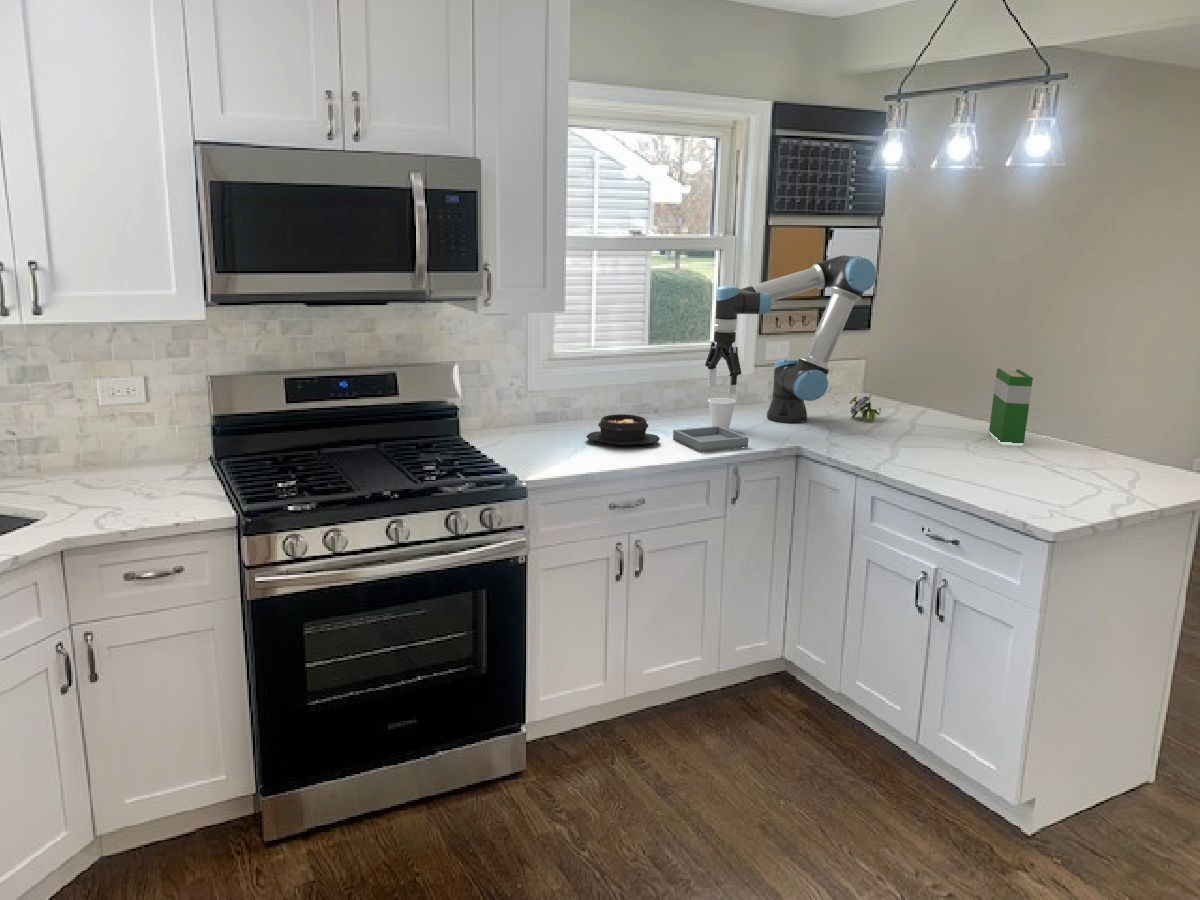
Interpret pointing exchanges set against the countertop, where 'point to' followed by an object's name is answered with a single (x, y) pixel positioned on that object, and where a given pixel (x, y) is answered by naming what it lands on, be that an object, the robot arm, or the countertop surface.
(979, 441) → the countertop surface
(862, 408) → the passion flower
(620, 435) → the casserole
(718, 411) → the cup
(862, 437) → the countertop surface
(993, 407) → the hardback book
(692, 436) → the tray
